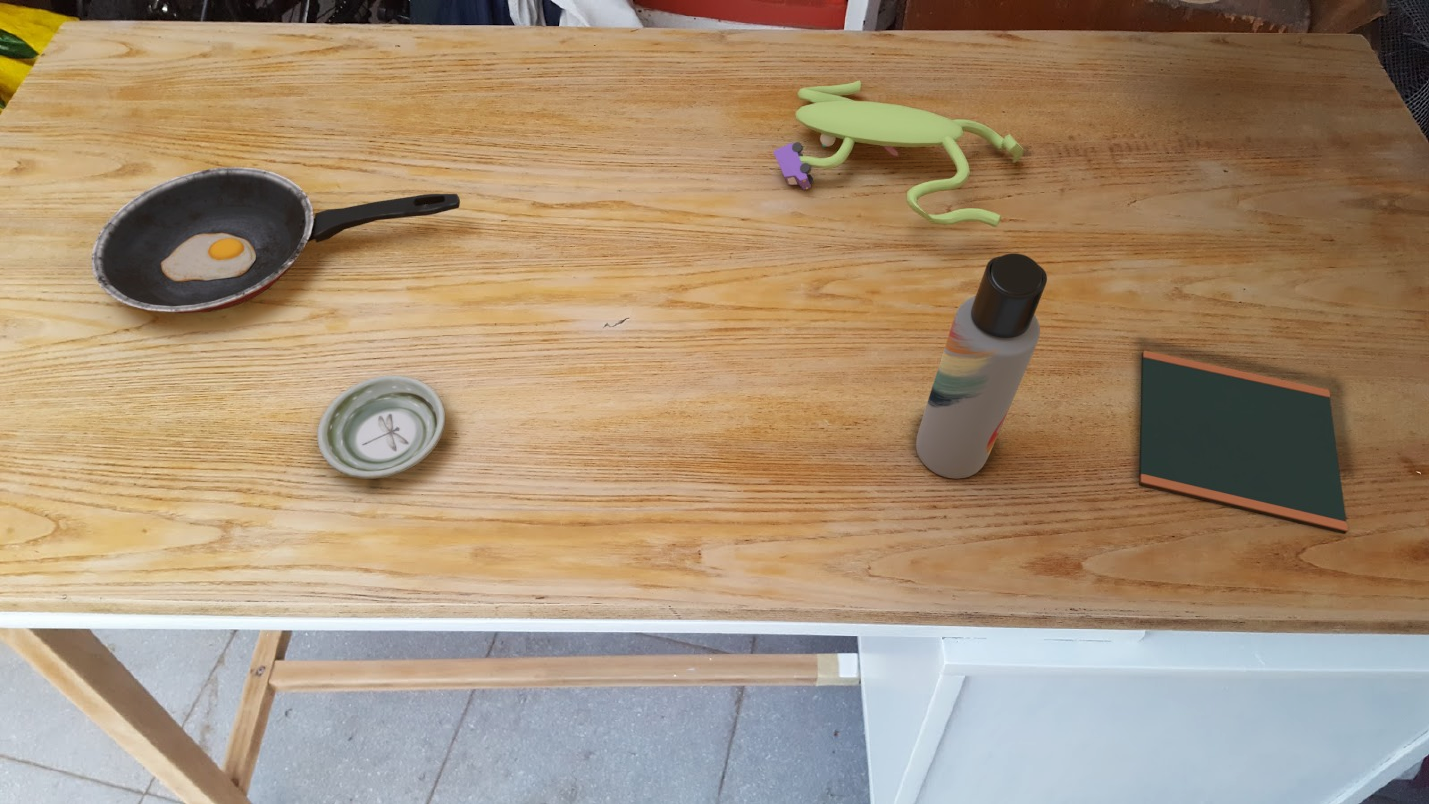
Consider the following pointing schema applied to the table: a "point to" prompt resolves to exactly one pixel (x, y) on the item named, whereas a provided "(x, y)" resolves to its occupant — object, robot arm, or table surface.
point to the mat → (1240, 441)
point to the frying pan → (223, 237)
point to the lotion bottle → (982, 367)
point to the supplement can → (1200, 1)
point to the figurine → (886, 142)
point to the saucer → (381, 427)
